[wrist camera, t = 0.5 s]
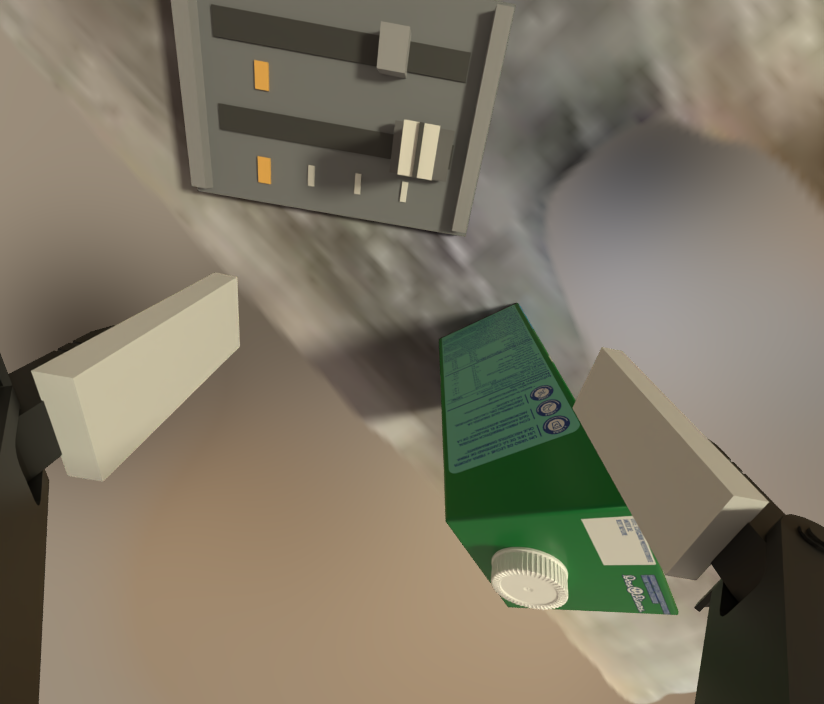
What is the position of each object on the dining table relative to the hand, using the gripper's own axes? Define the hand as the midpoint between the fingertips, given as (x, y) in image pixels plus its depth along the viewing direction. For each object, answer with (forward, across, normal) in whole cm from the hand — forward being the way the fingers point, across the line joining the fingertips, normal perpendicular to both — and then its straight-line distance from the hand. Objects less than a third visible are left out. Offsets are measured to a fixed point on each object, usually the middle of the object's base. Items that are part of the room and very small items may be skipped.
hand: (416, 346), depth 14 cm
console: (+24, -9, +8) cm, 27 cm away
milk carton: (+24, +10, -12) cm, 29 cm away
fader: (+23, -2, +6) cm, 23 cm away
